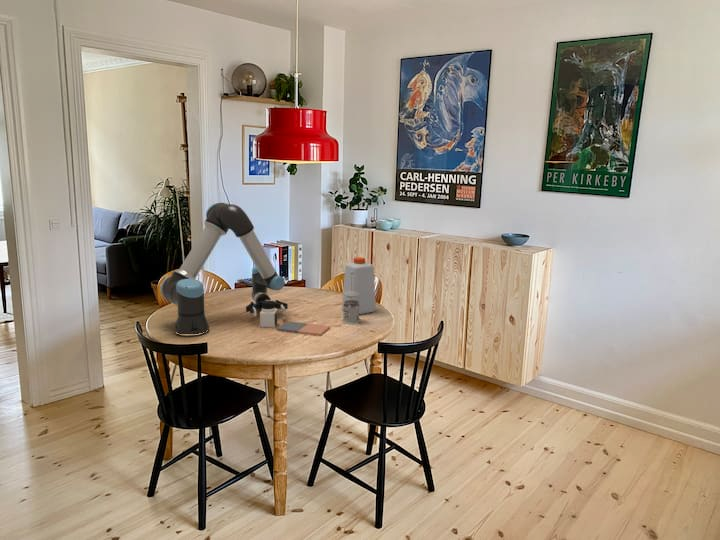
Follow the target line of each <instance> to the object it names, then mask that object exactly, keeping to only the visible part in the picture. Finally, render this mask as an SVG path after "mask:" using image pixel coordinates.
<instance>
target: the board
mask: <svg viewBox="0 0 720 540" xmlns="http://www.w3.org/2000/svg"><path fill="white" fill-rule="evenodd" d="M275 329H276V330H279V331H278V332H284V331H286V333H292V332H294V333H295V334H300V333H301V334H302V335H308V334H310V335H309V336H316V335H318V336H317V337H321V336H322V335H324V334H325V333H326V332H327V331H328V330H330V329H331V326H330V325H322V324H314V323H307V322H306V323H305V322H298V321H289V320H288V321H285V322H284V323H283V324H281V325H279V326H278V327H275Z"/></svg>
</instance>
